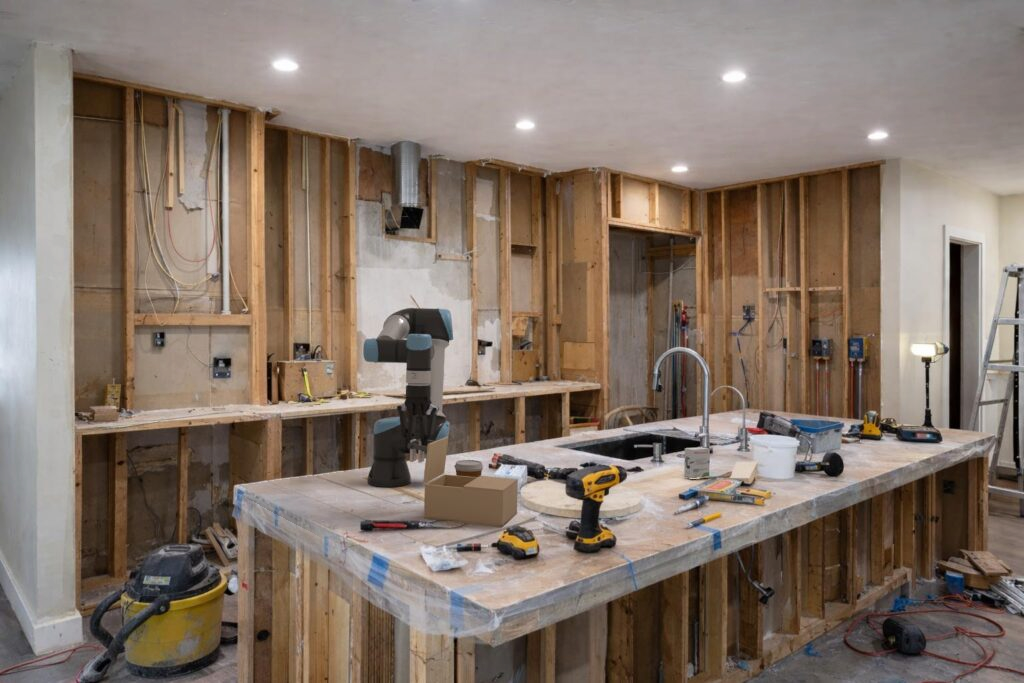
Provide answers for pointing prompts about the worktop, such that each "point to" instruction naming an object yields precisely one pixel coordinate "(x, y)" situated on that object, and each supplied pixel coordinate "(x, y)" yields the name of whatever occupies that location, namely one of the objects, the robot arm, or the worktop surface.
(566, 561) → the worktop surface
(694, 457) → the ink box
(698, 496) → the worktop surface
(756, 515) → the worktop surface
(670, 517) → the worktop surface
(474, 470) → the disposable coffee cup
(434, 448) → the flap
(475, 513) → the carton
